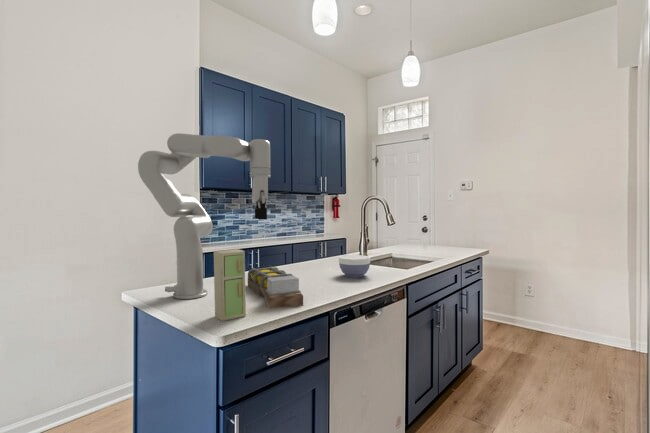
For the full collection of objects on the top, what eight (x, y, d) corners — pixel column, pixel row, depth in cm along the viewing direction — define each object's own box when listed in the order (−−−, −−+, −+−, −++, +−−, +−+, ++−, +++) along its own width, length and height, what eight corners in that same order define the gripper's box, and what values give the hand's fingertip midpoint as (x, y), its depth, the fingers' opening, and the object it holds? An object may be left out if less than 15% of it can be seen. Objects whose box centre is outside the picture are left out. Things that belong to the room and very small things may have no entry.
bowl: (335, 273, 180) (335, 255, 180) (365, 272, 183) (365, 254, 183) (342, 279, 165) (342, 259, 164) (374, 278, 168) (374, 258, 167)
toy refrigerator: (222, 322, 105) (221, 253, 104) (214, 316, 111) (213, 250, 110) (246, 317, 110) (246, 251, 109) (238, 311, 115) (237, 248, 115)
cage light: (274, 264, 163) (300, 275, 136) (274, 281, 163) (300, 296, 136) (243, 267, 156) (264, 279, 129) (243, 285, 156) (265, 300, 129)
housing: (270, 295, 120) (270, 281, 120) (265, 291, 126) (265, 277, 126) (300, 292, 125) (300, 278, 125) (294, 288, 131) (294, 275, 131)
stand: (269, 308, 119) (269, 296, 119) (265, 300, 129) (265, 290, 129) (303, 305, 123) (303, 293, 123) (296, 298, 132) (296, 287, 132)
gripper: (248, 175, 137) (248, 218, 137) (252, 170, 120) (253, 219, 121) (267, 175, 139) (267, 218, 140) (274, 171, 123) (274, 219, 123)
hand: (260, 218), depth 130 cm, fingers open, 9 cm apart
